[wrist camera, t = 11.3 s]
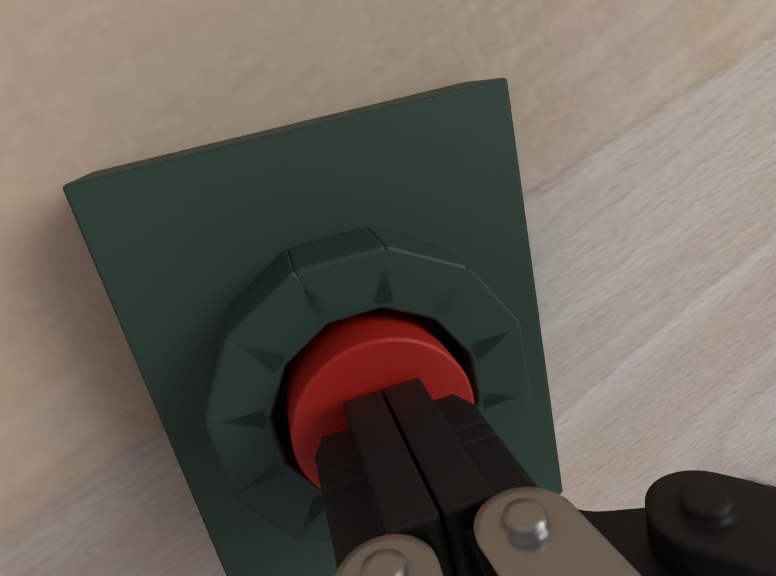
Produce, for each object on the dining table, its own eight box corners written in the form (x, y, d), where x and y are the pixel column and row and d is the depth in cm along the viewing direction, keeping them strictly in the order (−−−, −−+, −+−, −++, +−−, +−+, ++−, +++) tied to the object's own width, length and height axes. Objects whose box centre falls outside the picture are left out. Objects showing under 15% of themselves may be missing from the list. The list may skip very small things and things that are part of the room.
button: (263, 335, 12) (266, 373, 10) (430, 286, 12) (458, 313, 10) (309, 477, 13) (319, 531, 11) (459, 426, 13) (488, 470, 12)
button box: (90, 172, 13) (25, 201, 9) (469, 80, 14) (551, 72, 10) (241, 550, 16) (240, 680, 13) (526, 449, 18) (602, 540, 14)
